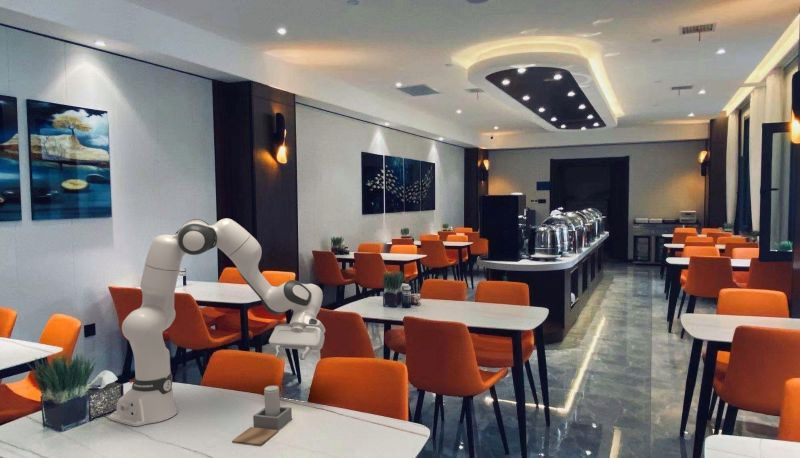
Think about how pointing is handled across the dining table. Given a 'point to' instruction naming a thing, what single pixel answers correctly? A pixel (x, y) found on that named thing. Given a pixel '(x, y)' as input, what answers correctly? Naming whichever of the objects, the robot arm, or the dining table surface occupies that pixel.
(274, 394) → the beverage can
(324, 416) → the dining table surface
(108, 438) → the dining table surface
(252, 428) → the coaster
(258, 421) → the can holder
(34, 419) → the dining table surface
